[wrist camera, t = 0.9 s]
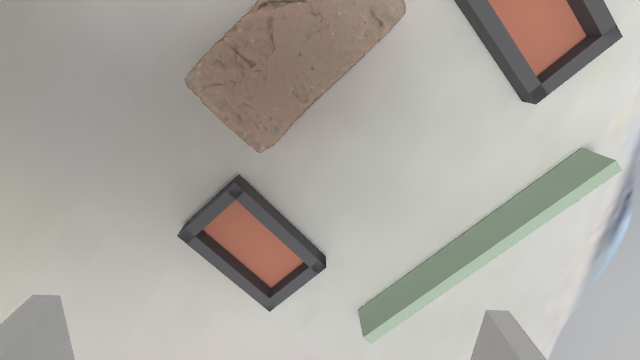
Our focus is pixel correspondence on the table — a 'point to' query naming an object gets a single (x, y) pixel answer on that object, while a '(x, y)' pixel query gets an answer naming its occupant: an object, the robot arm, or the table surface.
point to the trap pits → (515, 62)
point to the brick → (286, 61)
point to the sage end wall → (487, 240)
